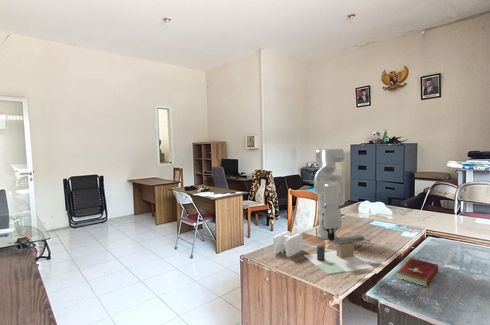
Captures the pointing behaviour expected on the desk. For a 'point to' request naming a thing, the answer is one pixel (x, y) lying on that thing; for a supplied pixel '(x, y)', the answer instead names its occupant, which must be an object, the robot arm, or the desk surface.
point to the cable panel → (339, 260)
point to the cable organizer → (287, 243)
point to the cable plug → (320, 253)
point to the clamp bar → (348, 239)
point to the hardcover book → (418, 271)
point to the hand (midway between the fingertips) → (331, 239)
